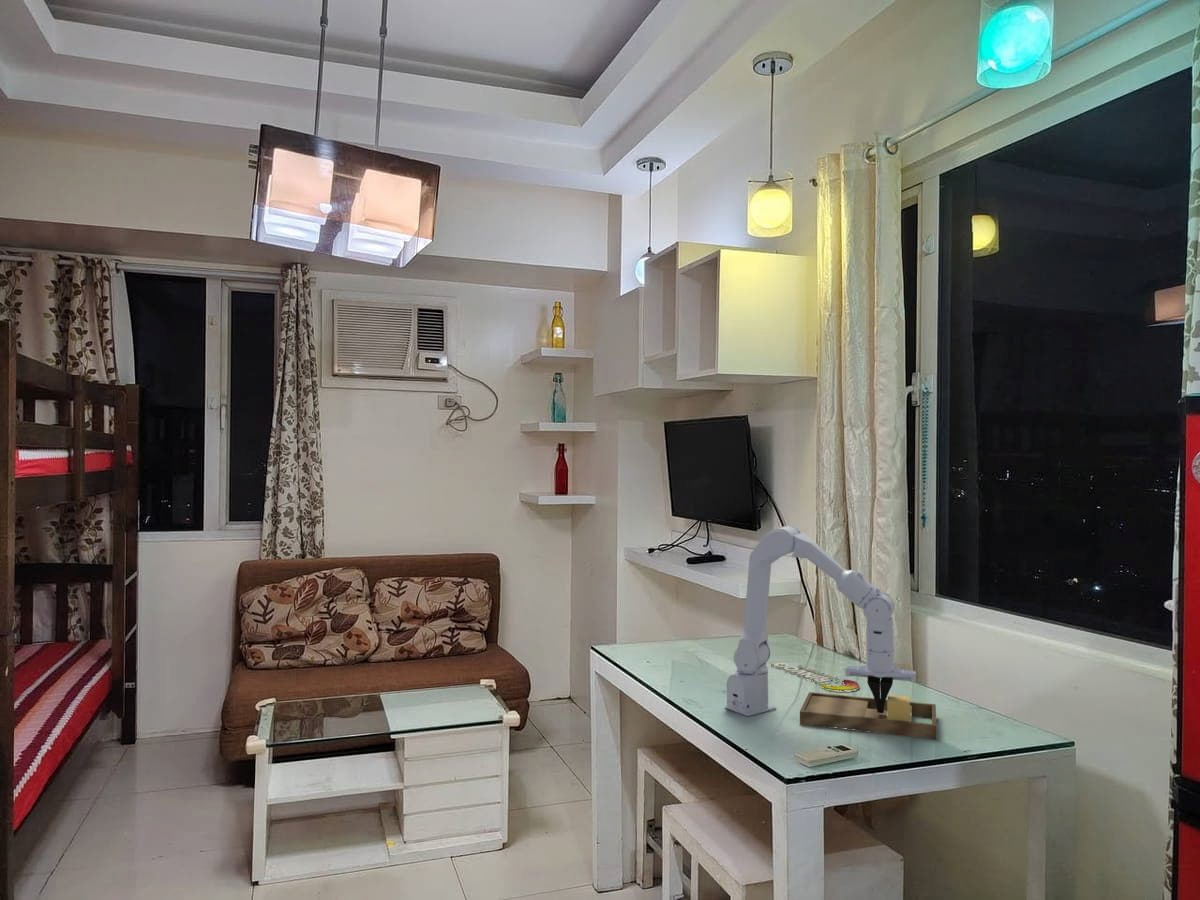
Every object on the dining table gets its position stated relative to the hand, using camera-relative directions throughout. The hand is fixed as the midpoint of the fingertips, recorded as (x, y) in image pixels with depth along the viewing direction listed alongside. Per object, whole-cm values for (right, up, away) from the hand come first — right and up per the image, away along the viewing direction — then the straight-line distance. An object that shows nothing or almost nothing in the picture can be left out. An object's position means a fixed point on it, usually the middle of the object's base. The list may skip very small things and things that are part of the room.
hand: (880, 711), depth 180 cm
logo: (-4, -4, +39) cm, 40 cm away
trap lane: (-1, -3, +4) cm, 5 cm away
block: (+4, -1, -1) cm, 4 cm away
